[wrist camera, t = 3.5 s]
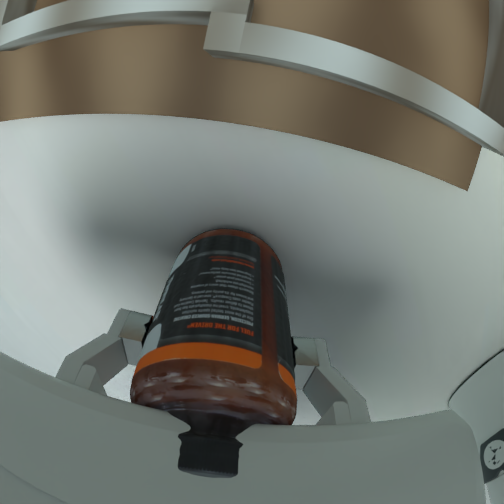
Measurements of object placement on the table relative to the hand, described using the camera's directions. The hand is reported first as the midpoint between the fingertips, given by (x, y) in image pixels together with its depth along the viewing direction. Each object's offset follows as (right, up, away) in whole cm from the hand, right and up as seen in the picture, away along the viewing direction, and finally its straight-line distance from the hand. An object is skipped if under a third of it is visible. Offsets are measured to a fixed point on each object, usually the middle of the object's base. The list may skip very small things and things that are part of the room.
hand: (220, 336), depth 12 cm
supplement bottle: (0, +3, +4) cm, 5 cm away
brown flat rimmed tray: (+1, +18, -6) cm, 19 cm away
